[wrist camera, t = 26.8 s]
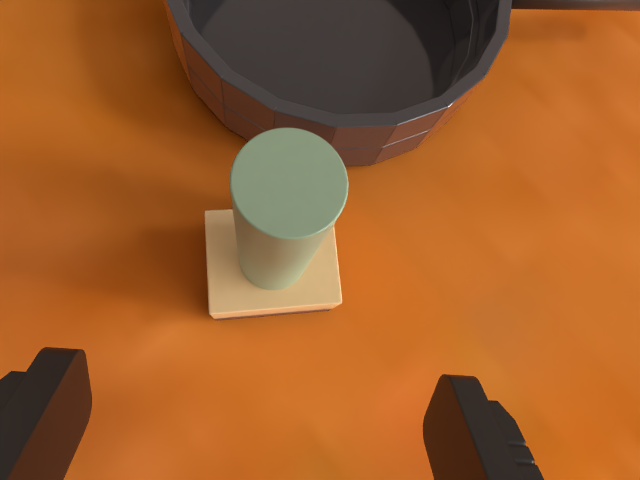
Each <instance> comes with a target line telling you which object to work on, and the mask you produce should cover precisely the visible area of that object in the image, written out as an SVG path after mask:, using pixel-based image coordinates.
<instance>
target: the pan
mask: <svg viewBox="0 0 640 480" xmlns="http://www.w3.org/2000/svg"><path fill="white" fill-rule="evenodd" d="M163 2H164V6H165V10H166V14H167V18H168V22H169V26H170V30H171V34H172V38H173V42H174V46H175V49H176V52H177V54H178V56H179V59H180V61H181V63H182V66H183V68H184V71H185V73H186V75H187V78H188V80H189V82H190V85H191V87H192V89H193V90H194V92H195V93H196V94H197V95H198V96H199V97H200V98H201V100H202V101H203V102H204V103H205V104H206V105H207V106H208V107H209V109H210V110H211V111H212V112H213V113H214V114H215V115H216V116H217V118H218V119H219V120H220V121H221V122H222V123H223V124H224V125H225V126H227V128H228V129H230V130H232V131H233V132H235V133H237V134H238V135H240V136H242V137H243V138H245V139H247V140H248V141H249V140H251V139H252V138H254V137H255V136H257V135H259V134H261V133H263V132H265V131H268V130H272V129H276V128H297V129H302V130H306V131H309V132H311V133H314V134H316V135H317V136H319V137H321V138H322V139H324V140H325V141H326V142H328V143H329V144H330V145H331V146H332V147H333V148H334V149H335V151H336V152H337V153H338V155H339V156H340V158H341V159H342V161H343V164H344V166H366V165H371V164H376V163H378V162H381V161H384V160H386V159H389V158H392V157H394V156H397V155H400V154H403V153H405V152H408V151H411V150H413V149H415V148H417V147H418V146H419V145H420V144H422V143H423V142H424V141H425V140H426V139H427V138H429V137H430V136H431V135H432V134H433V133H435V132H436V131H437V130H438V129H439V128H441V127H442V126H443V125H444V124H445V123H447V121H448V120H449V119H450V118H451V117H452V116H453V115H454V113H455V112H456V111H457V110H458V109H459V107H460V106H461V105H462V104H463V103H464V101H465V100H466V99H467V98H468V97H469V95H470V94H471V93H472V92H473V91H474V90H475V88H476V87H477V86H478V85H479V84H480V82H481V81H482V80H483V79H484V78H485V76H486V75H487V73H488V71H489V70H490V68H491V66H492V64H493V62H494V60H495V59H496V57H497V55H498V53H499V51H500V49H501V48H502V46H503V44H504V42H505V40H506V38H507V35H508V30H509V21H510V13H511V4H512V0H163Z"/></svg>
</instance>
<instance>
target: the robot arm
mask: <svg viewBox="0 0 640 480" xmlns="http://www.w3.org/2000/svg"><path fill="white" fill-rule="evenodd" d="M91 407H92V394H91V387H90V380H89V374H88V367H87V360H86V354H85V352H84V350H81V349H66V348H51V347H45V348H43V349H42V350H41V351H40V352H39V353H38V354H37V356H36V357H35V359H34V361H33V362H32V364H31V365H30V367H29V368H28V370H27V371H26V372H18V371H11V372H10V373H8V374H7V375H6V376H5V377H3V378H2V379H1V380H0V480H63V479H64V477H65V475H66V472H67V470H68V468H69V466H70V463H71V461H72V459H73V456H74V454H75V452H76V450H77V447H78V445H79V443H80V441H81V438H82V436H83V434H84V431H85V429H86V427H87V424H88V421H89V418H90V413H91ZM423 438H424V444H425V447H426V451H427V455H428V458H429V462H430V465H431V469H432V473H433V476H434V480H544V478H543V476H542V474H541V472H540V470H539V468H538V466H537V465H535V463H534V461H535V460H534V458H533V456H532V454H531V452H530V450H529V448H528V447H526V444H525V443H526V442H525V440H524V438H523V436H522V434H521V431H520V429H519V427H518V425H517V423H516V421H515V420H514V419H513V418H512V416H511V415H510V414H509V413H508V412H507V411H506V410H505V409H504V408H503V407H502V406H501V404H500V403H499V402H498V401H488V399H487V397H486V395H485V393H484V391H483V388H482V386H481V384H480V382H479V380H478V379H477V378H476V377H474V376H461V375H445V374H443V375H442V376H441V377H440V378H439V380H438V383H437V385H436V388H435V391H434V393H433V396H432V398H431V401H430V403H429V406H428V409H427V411H426V414H425V417H424V422H423Z"/></svg>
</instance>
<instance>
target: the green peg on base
mask: <svg viewBox="0 0 640 480" xmlns="http://www.w3.org/2000/svg"><path fill="white" fill-rule="evenodd" d="M230 192H231V200H232V208H233V209H227V210H207V211H205V212H204V213H205V236H206V259H207V282H208V305H209V314H210V315H211V316H212V317H213V318H214V319H215V320H227V319H239V318H250V317H262V316H273V315H284V314H296V313H307V312H319V311H329V310H331V309H332V308H334V307H336V306H338V305H339V304H341V303H342V294H341V285H340V276H339V267H338V258H337V248H336V239H335V230H334V223H335V222H336V220H337V219H338V217H339V215H340V214H341V212H342V210H343V208H344V206H345V203H346V200H347V196H348V176H347V172H346V169H345V166H344V164H343V161H342V159H341V158H340V156H339V155H338V153H337V152H336V151H335V149H334V148H333V147H332V146H331V145H330V144H329V143H328V142H326V141H325V140H324V139H322V138H321V137H319V136H317V135H316V134H314V133H311V132H309V131H306V130H302V129H297V128H276V129H272V130H268V131H265V132H263V133H261V134H259V135H257V136H255V137H254V138H252V139H251V140H249V141H248V142H247V143H246V144H245V145H244V146H243V147H242V148H241V150H240V151H239V152H238V154H237V156H236V157H235V160H234V162H233V164H232V168H231V172H230Z"/></svg>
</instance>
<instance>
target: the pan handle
mask: <svg viewBox="0 0 640 480" xmlns="http://www.w3.org/2000/svg"><path fill="white" fill-rule="evenodd" d="M511 9H552V10H615V11H640V0H512V4H511Z"/></svg>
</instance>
